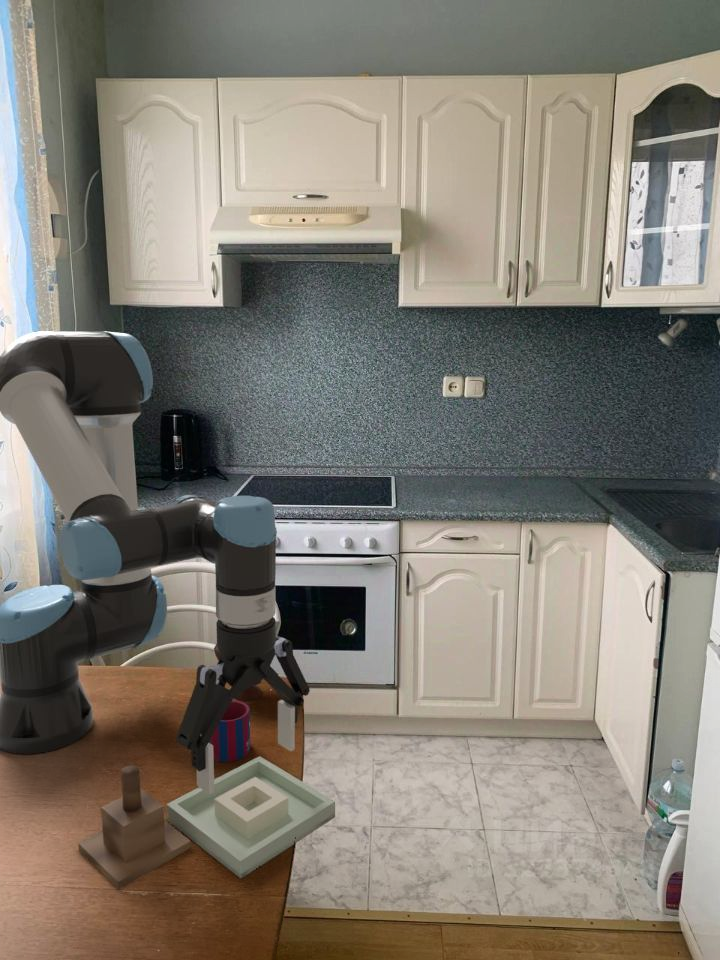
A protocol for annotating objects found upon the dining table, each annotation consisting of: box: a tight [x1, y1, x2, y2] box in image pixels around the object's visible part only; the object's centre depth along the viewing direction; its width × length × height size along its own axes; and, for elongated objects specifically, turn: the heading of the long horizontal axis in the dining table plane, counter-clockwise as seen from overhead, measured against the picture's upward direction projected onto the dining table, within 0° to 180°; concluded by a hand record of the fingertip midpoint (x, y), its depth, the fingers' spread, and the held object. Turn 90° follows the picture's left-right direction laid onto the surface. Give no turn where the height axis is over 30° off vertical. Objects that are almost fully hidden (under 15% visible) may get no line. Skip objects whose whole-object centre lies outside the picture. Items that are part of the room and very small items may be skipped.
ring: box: [214, 777, 288, 839], centre depth 100 cm, size 7×7×2 cm
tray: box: [166, 756, 336, 879], centre depth 100 cm, size 16×16×2 cm
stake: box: [77, 764, 192, 890], centre depth 93 cm, size 10×10×11 cm
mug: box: [209, 700, 251, 763], centre depth 116 cm, size 7×10×7 cm
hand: (247, 766), depth 99 cm, fingers open, 13 cm apart
